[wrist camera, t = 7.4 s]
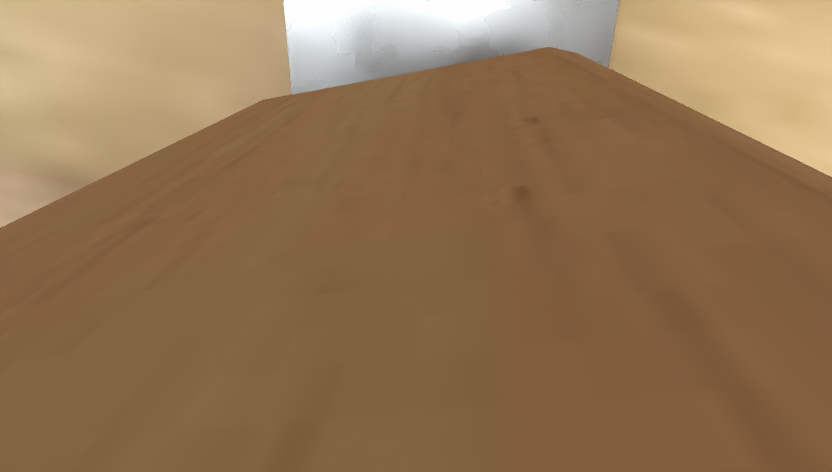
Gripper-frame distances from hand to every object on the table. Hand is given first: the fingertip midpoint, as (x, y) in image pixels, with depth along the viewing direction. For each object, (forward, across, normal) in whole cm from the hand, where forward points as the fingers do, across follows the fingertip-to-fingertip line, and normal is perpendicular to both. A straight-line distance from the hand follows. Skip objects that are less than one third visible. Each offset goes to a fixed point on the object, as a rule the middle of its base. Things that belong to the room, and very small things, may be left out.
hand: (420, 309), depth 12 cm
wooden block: (+5, 0, 0) cm, 5 cm away
